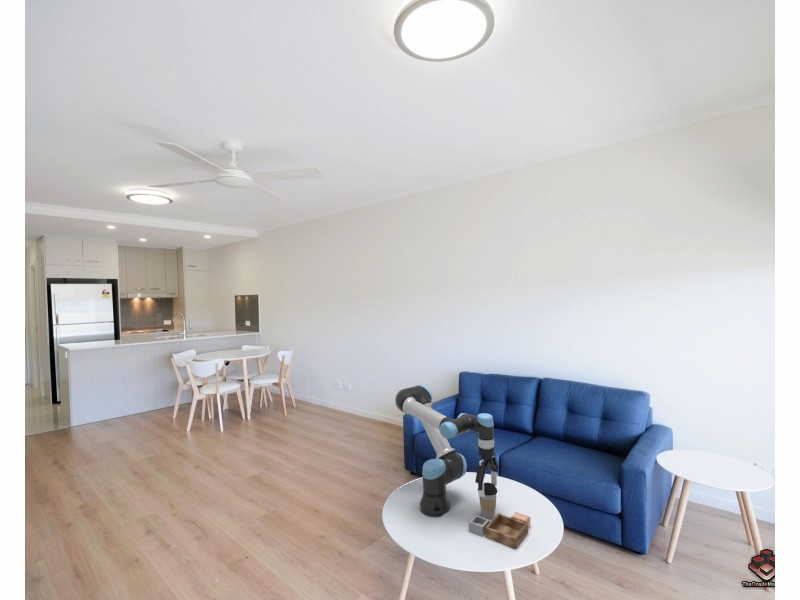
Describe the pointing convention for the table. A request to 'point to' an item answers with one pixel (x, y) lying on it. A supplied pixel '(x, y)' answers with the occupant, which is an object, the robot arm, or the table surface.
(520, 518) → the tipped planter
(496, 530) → the walnut box
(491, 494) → the coffee cup
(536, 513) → the table surface
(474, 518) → the grey tub
